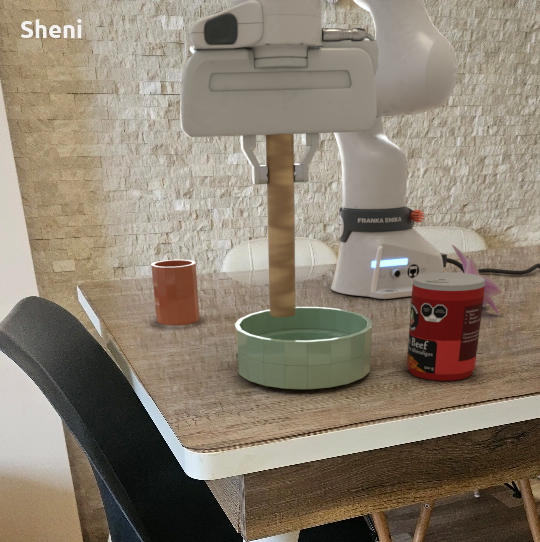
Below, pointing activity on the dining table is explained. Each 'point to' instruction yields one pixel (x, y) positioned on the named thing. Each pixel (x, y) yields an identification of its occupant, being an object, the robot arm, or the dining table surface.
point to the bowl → (304, 348)
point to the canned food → (444, 325)
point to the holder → (175, 292)
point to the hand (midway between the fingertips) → (279, 183)
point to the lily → (490, 285)
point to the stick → (281, 223)
